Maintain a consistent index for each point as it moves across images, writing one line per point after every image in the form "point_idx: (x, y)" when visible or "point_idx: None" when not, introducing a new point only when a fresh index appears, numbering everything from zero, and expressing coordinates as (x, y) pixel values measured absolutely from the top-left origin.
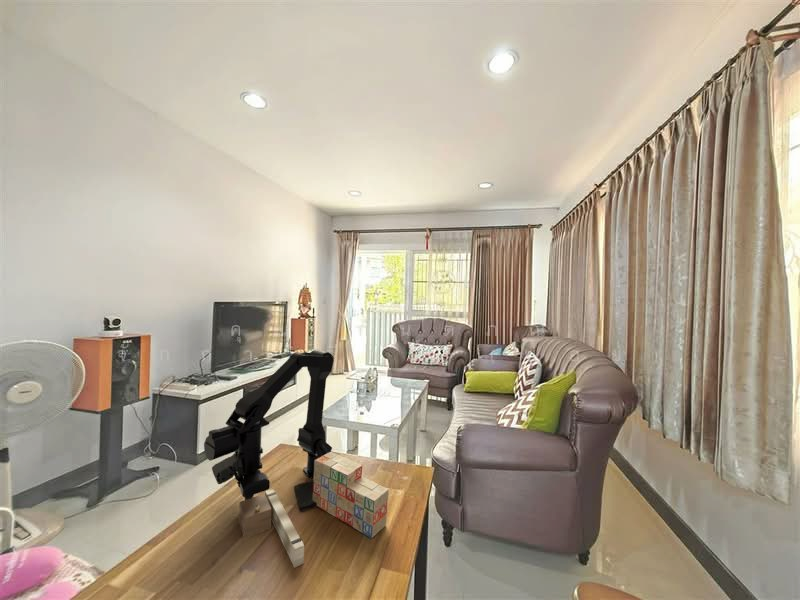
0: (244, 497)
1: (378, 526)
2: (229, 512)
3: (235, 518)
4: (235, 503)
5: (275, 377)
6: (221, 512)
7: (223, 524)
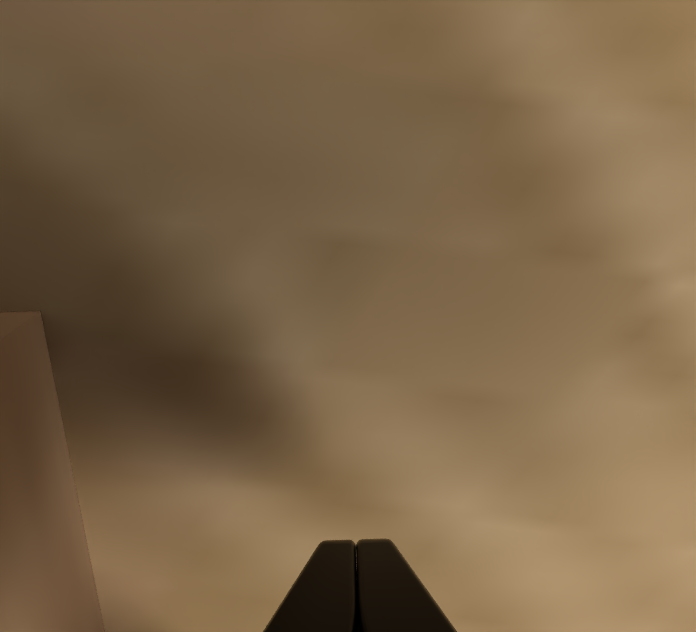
0: (398, 600)
1: None
2: (398, 189)
3: (139, 268)
4: (628, 331)
5: None
6: (500, 32)
7: (44, 24)
